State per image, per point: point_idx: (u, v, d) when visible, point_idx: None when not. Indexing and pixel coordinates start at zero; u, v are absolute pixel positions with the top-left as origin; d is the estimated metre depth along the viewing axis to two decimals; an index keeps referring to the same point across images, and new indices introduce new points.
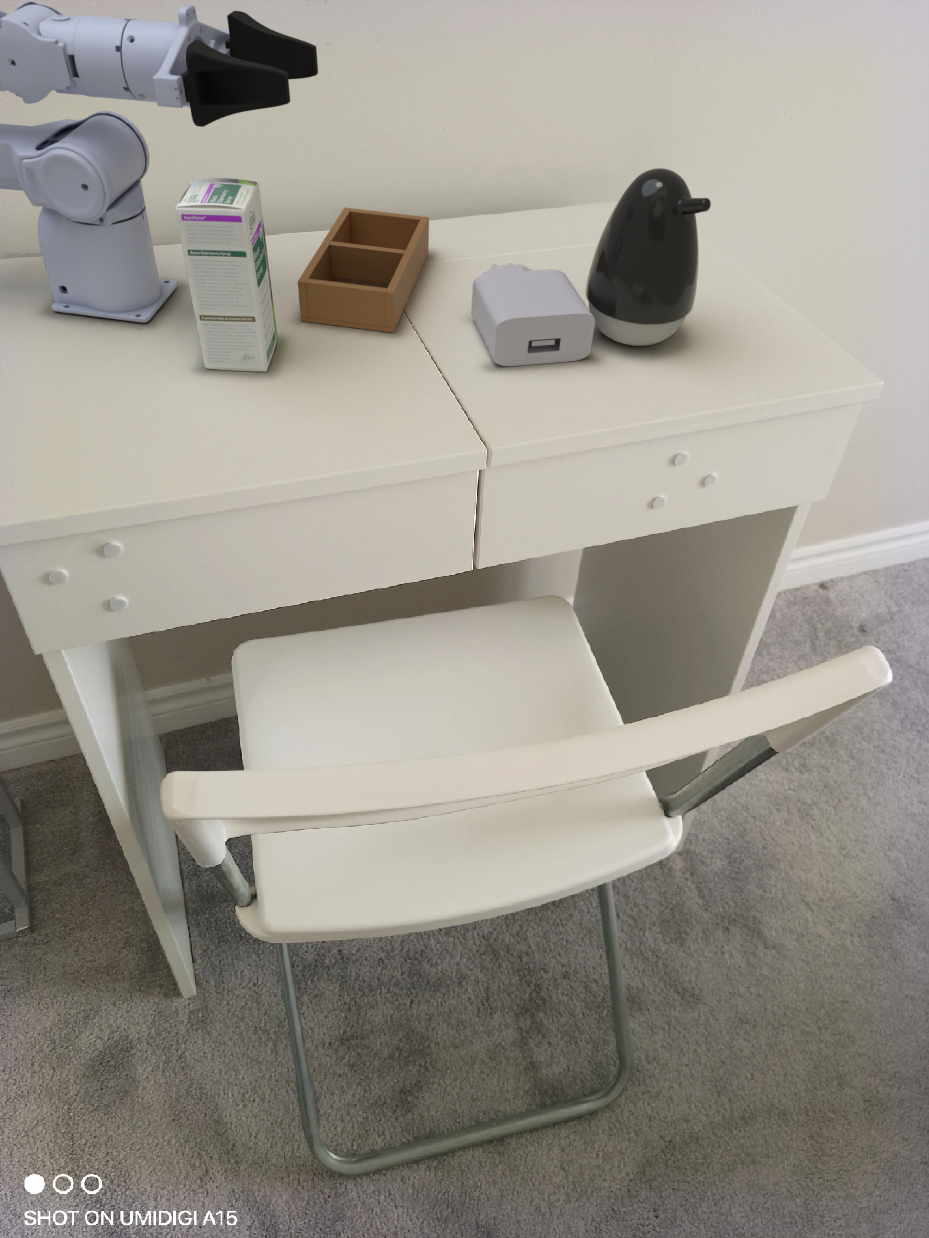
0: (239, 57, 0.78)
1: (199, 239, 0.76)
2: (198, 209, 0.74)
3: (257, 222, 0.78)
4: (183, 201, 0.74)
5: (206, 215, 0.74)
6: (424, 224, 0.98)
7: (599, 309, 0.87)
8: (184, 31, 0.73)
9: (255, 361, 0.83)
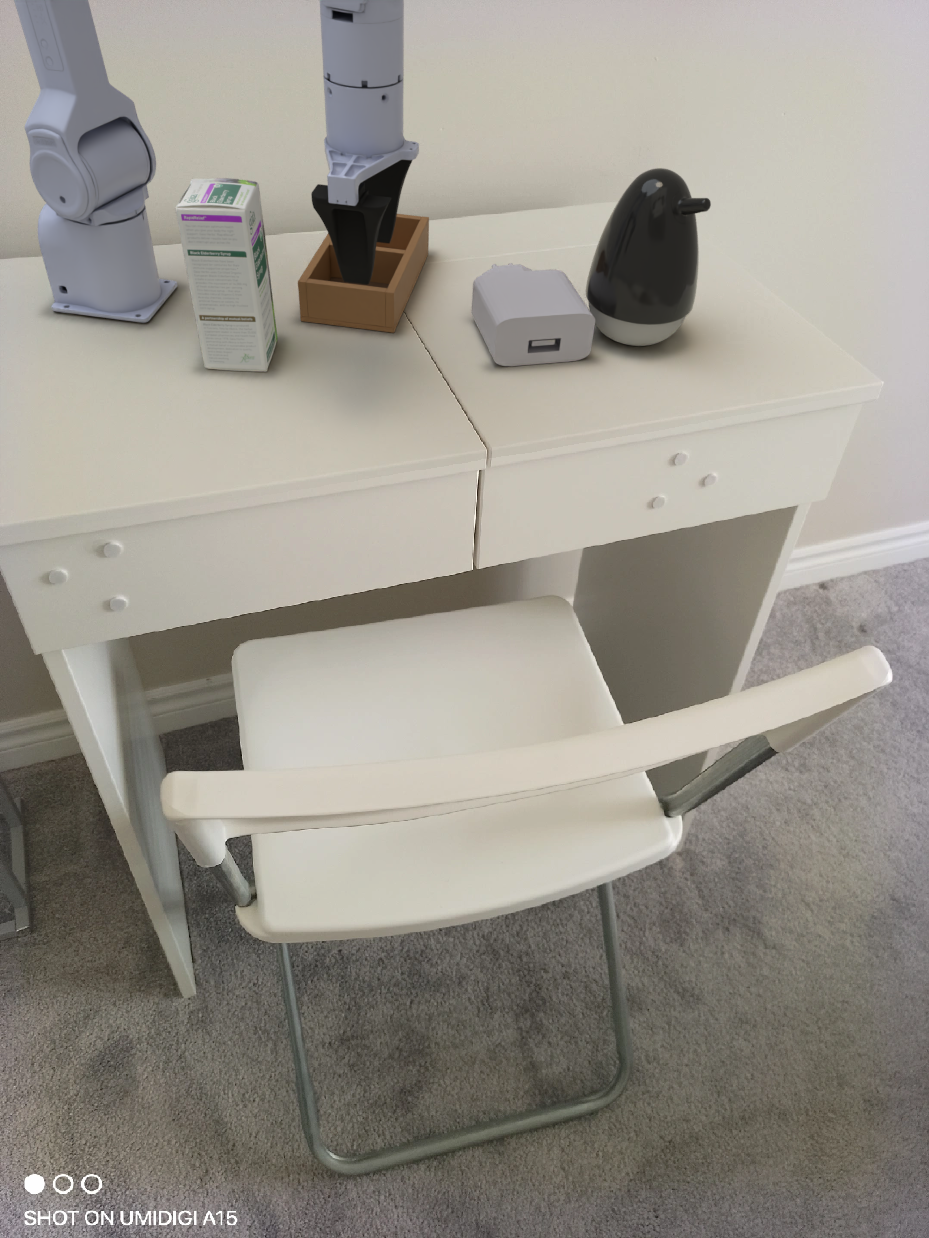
0: None
1: (199, 239, 0.76)
2: (198, 209, 0.74)
3: (257, 222, 0.78)
4: (183, 201, 0.74)
5: (206, 215, 0.74)
6: (424, 224, 0.98)
7: (599, 309, 0.87)
8: (396, 159, 0.70)
9: (255, 361, 0.83)
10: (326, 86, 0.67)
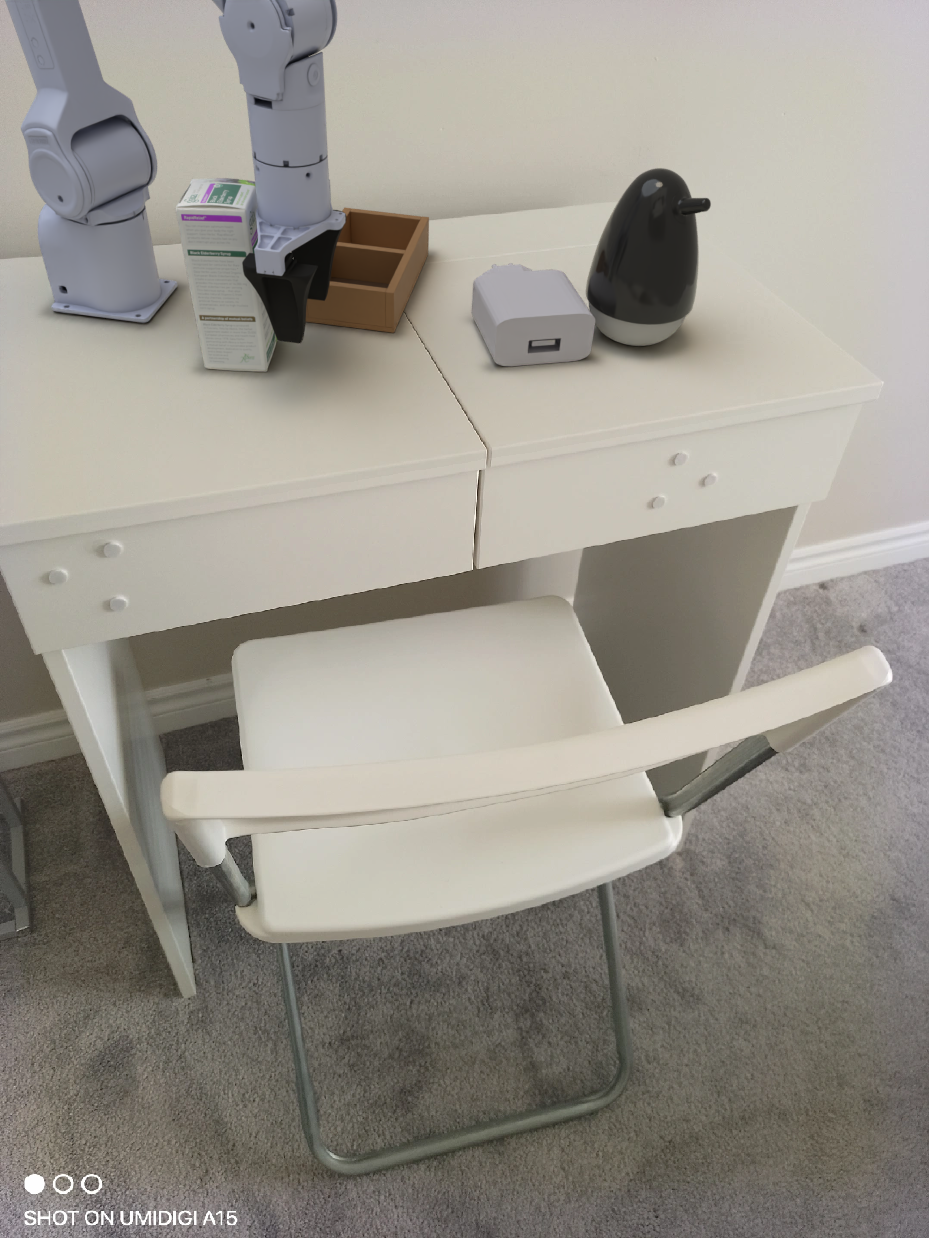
0: None
1: (199, 239, 0.76)
2: (198, 209, 0.74)
3: None
4: (183, 201, 0.74)
5: (206, 215, 0.74)
6: (424, 224, 0.98)
7: (599, 309, 0.87)
8: (323, 230, 0.75)
9: (255, 361, 0.83)
10: (254, 164, 0.72)
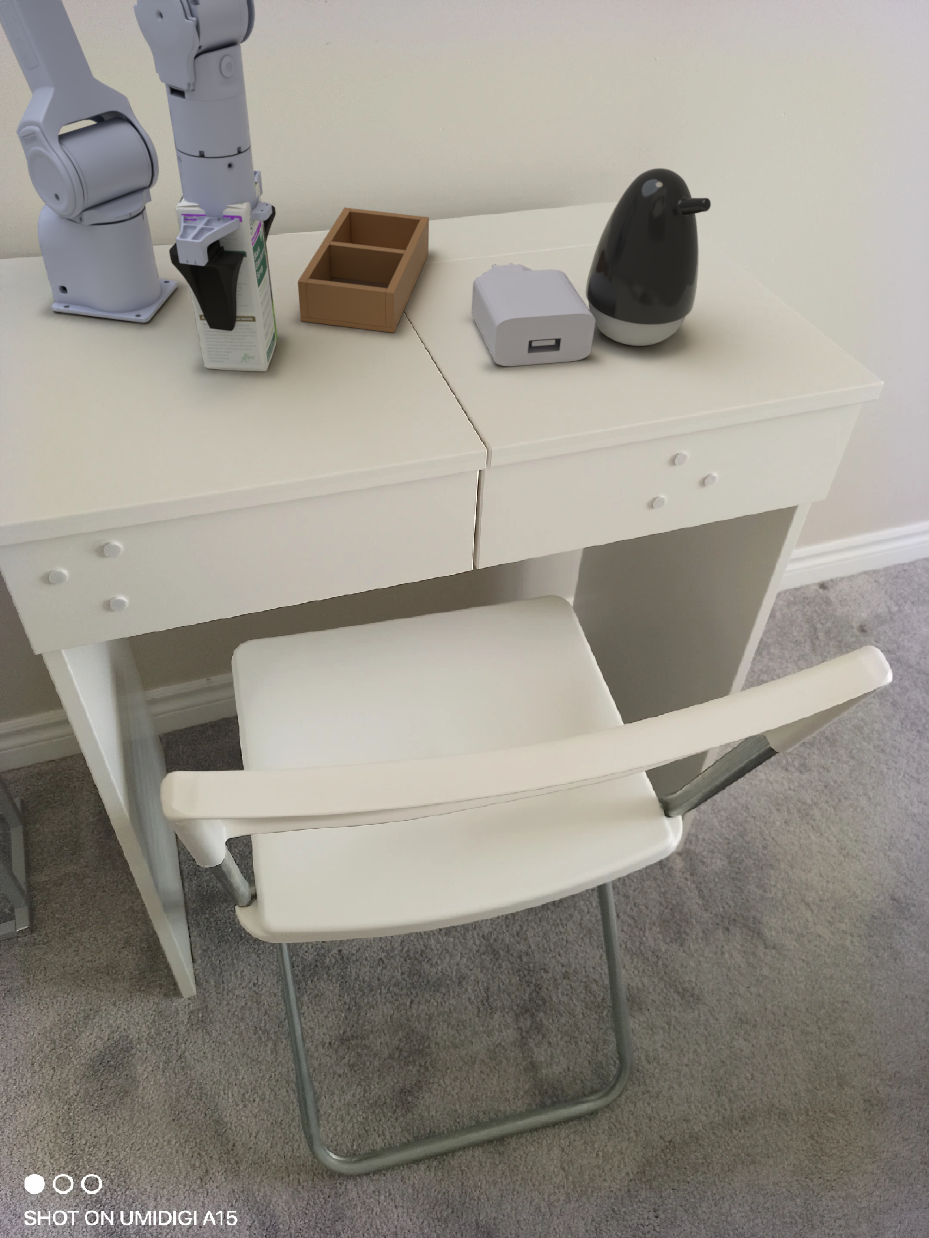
0: None
1: None
2: (199, 209, 0.74)
3: (257, 222, 0.78)
4: (183, 201, 0.74)
5: None
6: (424, 224, 0.98)
7: (599, 309, 0.87)
8: None
9: (255, 361, 0.83)
10: (177, 154, 0.72)
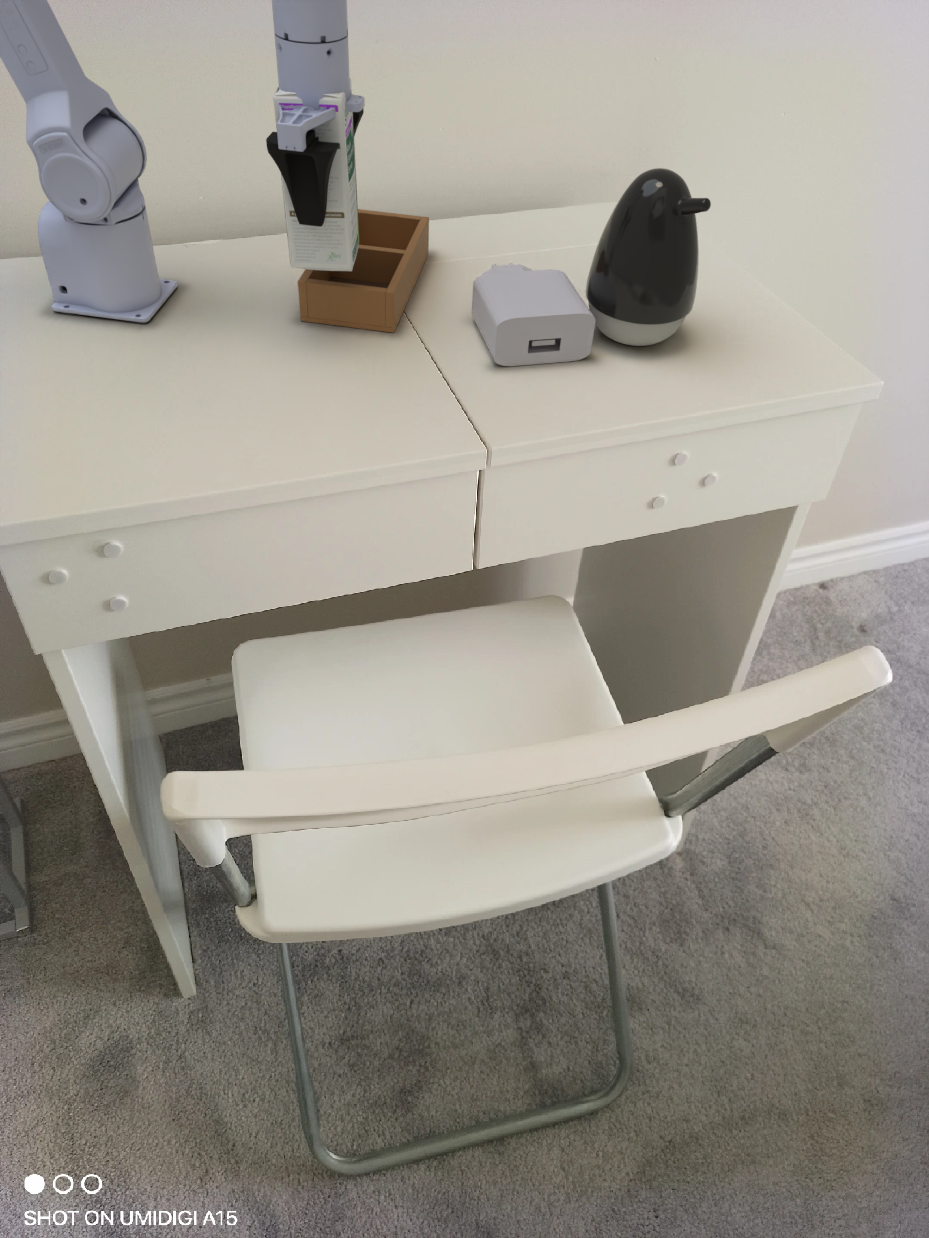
0: None
1: None
2: (296, 98, 0.75)
3: (349, 116, 0.79)
4: (280, 91, 0.76)
5: None
6: (424, 224, 0.98)
7: (599, 309, 0.87)
8: None
9: (341, 260, 0.84)
10: (276, 42, 0.74)
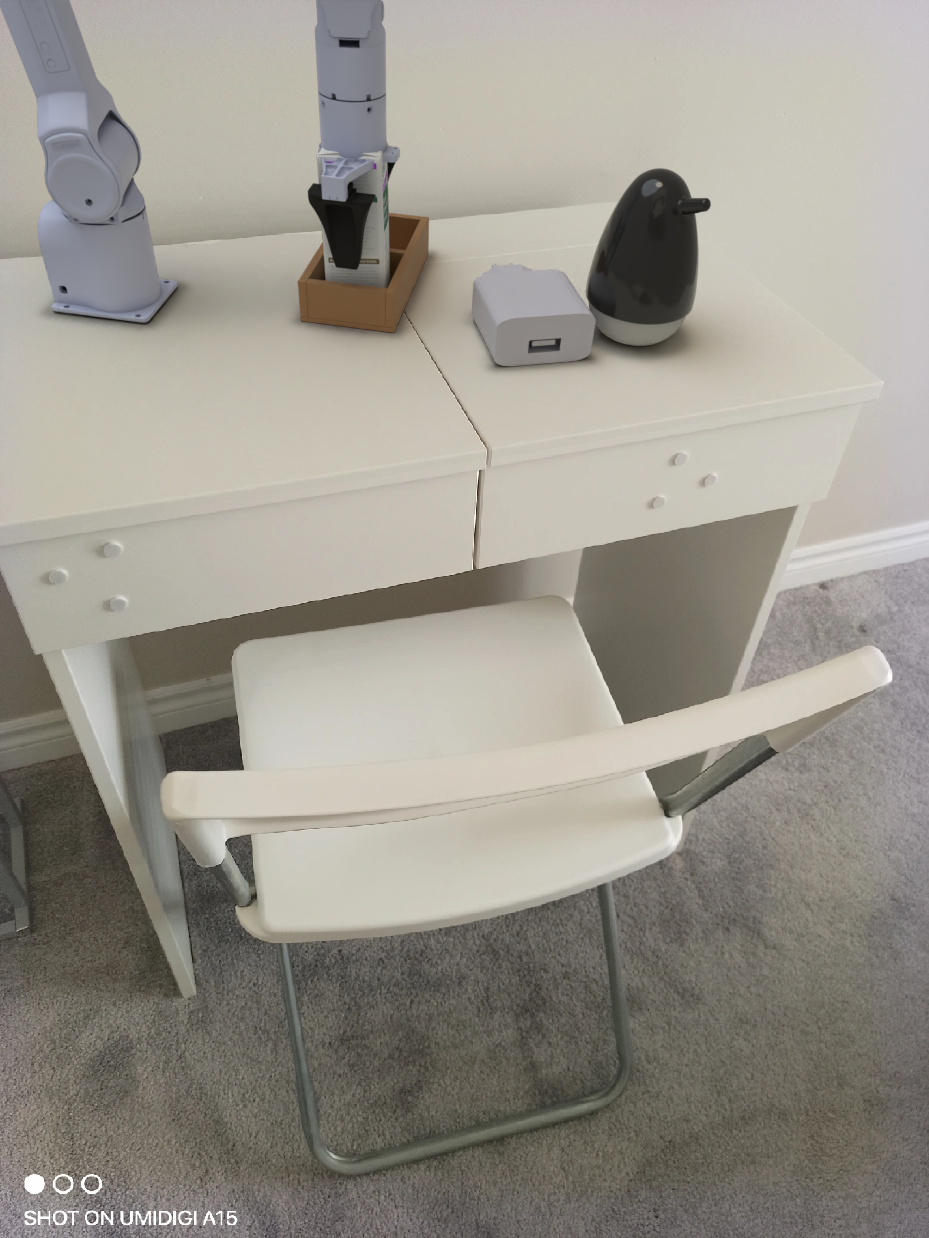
0: None
1: None
2: (337, 156, 0.81)
3: (385, 171, 0.85)
4: (323, 149, 0.82)
5: None
6: (424, 224, 0.98)
7: (599, 309, 0.87)
8: None
9: None
10: (320, 100, 0.79)
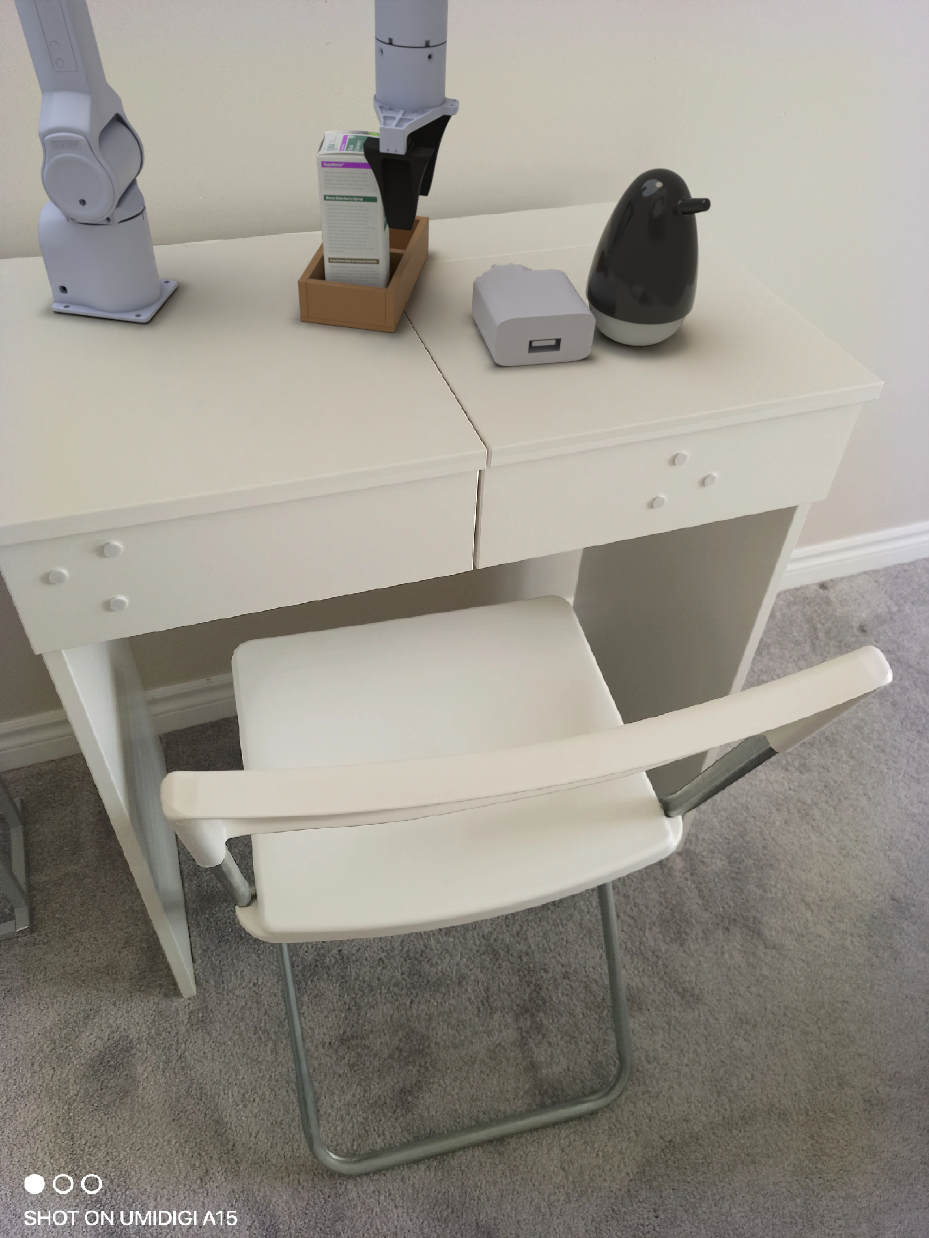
0: None
1: (335, 185, 0.83)
2: (337, 156, 0.81)
3: None
4: (323, 149, 0.82)
5: (344, 163, 0.81)
6: (424, 224, 0.98)
7: (599, 309, 0.87)
8: (439, 114, 0.78)
9: None
10: (377, 46, 0.75)
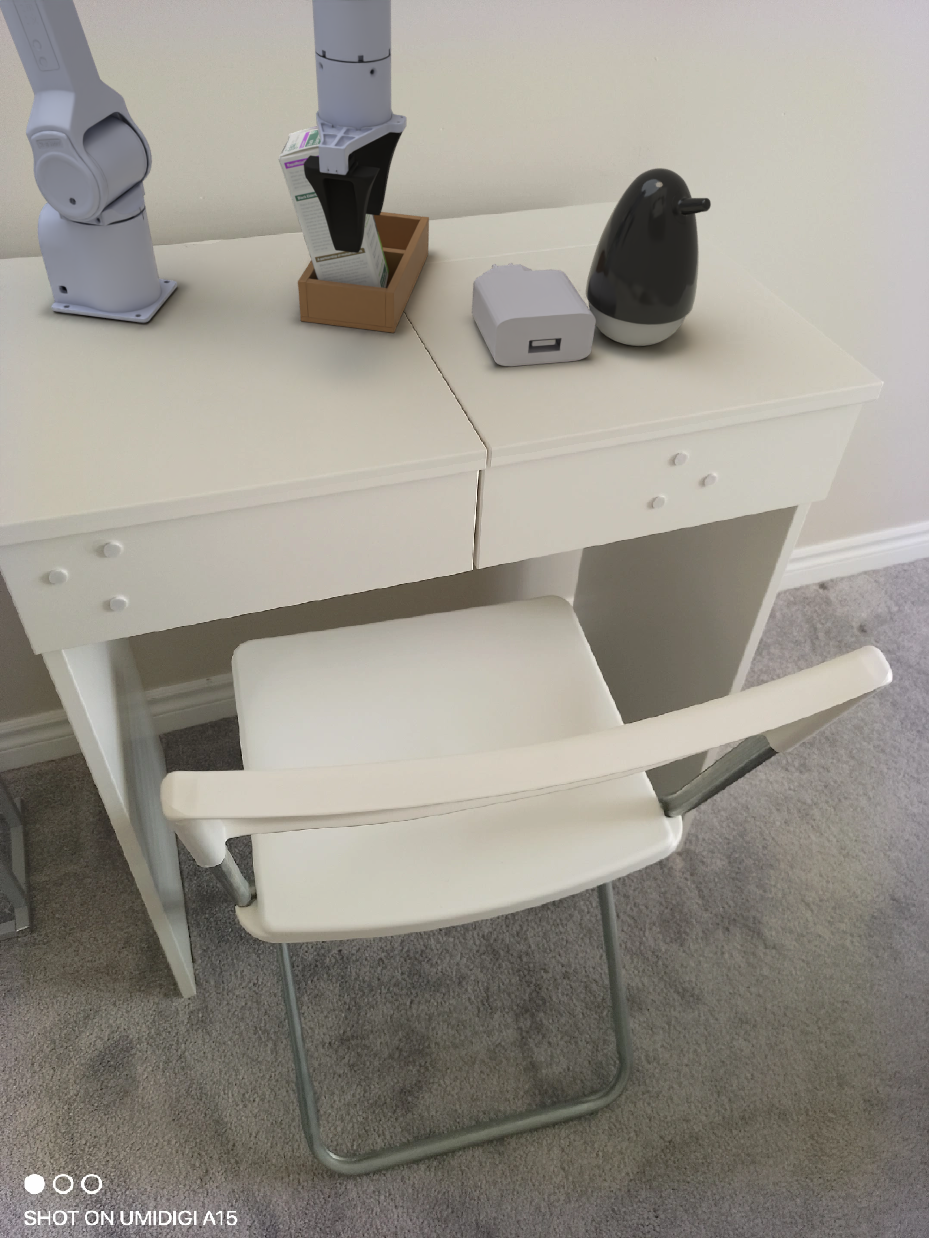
0: None
1: (303, 184, 0.83)
2: (298, 154, 0.81)
3: None
4: (284, 151, 0.82)
5: (306, 159, 0.81)
6: (424, 224, 0.98)
7: (599, 309, 0.87)
8: (384, 132, 0.74)
9: None
10: (317, 61, 0.71)
